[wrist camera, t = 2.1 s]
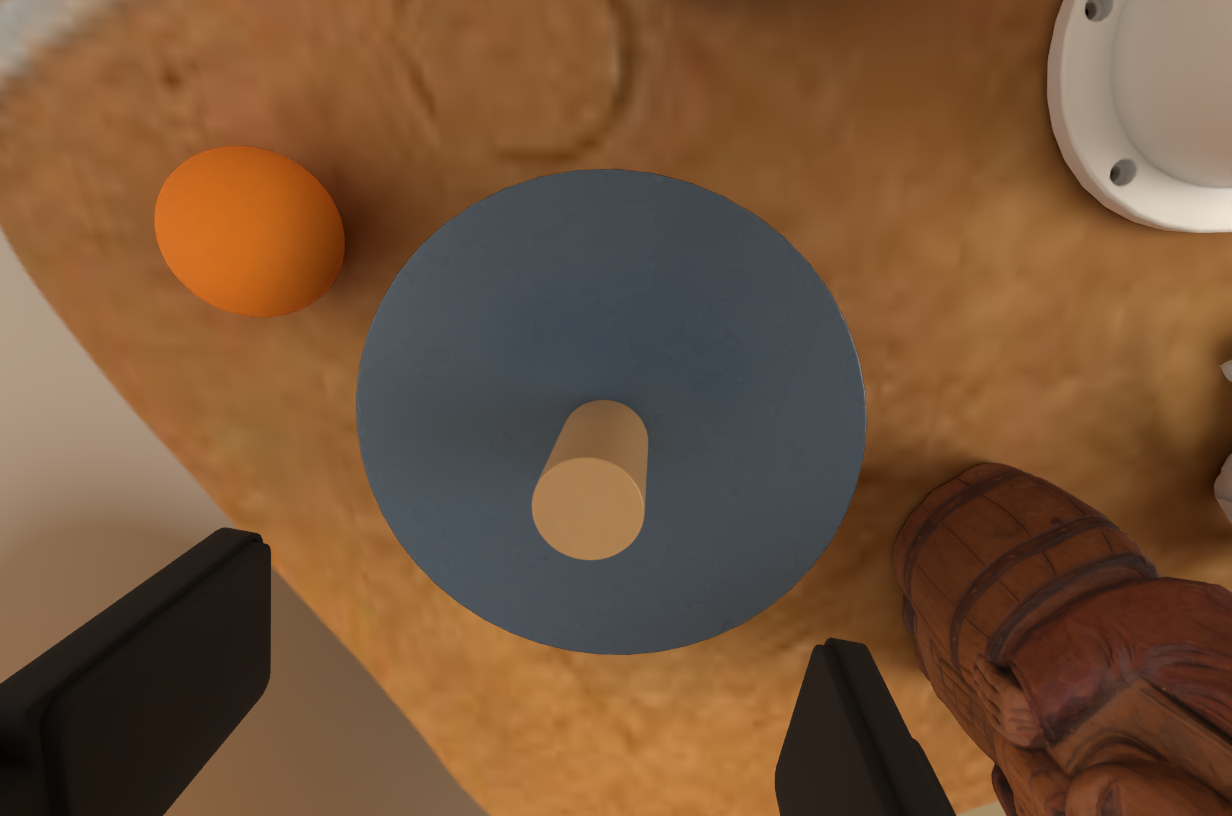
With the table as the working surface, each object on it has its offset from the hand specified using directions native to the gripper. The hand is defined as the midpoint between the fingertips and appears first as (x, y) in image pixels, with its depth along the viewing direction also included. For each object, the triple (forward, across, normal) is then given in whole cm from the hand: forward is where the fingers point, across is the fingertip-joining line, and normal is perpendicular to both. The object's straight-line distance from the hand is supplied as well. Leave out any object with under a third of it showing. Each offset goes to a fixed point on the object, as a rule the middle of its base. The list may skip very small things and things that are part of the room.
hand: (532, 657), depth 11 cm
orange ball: (+14, +14, -4) cm, 20 cm away
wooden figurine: (+17, -17, +6) cm, 25 cm away
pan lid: (+11, 0, 0) cm, 11 cm away
